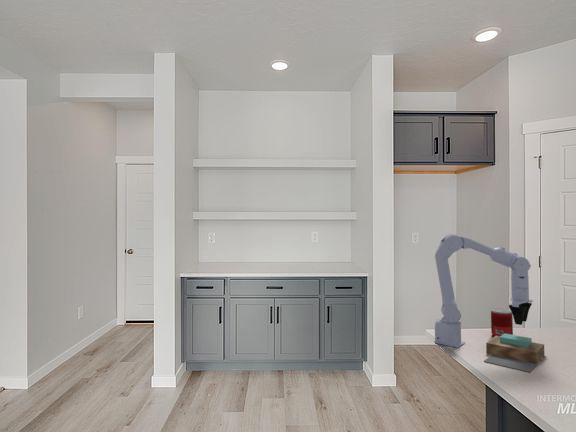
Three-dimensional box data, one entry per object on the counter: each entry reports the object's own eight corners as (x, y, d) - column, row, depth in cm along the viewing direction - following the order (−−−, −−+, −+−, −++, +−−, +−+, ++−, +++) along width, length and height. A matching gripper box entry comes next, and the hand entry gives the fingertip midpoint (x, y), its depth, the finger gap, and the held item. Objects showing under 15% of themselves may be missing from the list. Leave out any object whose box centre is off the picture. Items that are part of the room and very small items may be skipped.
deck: (486, 353, 140) (486, 342, 140) (496, 345, 149) (496, 335, 149) (536, 364, 129) (536, 352, 129) (544, 355, 137) (544, 344, 137)
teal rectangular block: (499, 342, 141) (499, 336, 141) (504, 338, 145) (504, 333, 145) (527, 347, 134) (527, 342, 134) (531, 343, 139) (531, 338, 139)
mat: (483, 361, 132) (483, 361, 132) (491, 355, 138) (491, 354, 138) (530, 372, 122) (530, 371, 122) (536, 364, 129) (536, 364, 129)
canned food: (516, 338, 157) (516, 312, 157) (497, 339, 157) (496, 312, 157) (506, 333, 164) (505, 308, 165) (488, 333, 165) (487, 308, 165)
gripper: (527, 291, 138) (528, 328, 137) (536, 286, 148) (537, 320, 148) (505, 289, 143) (506, 325, 142) (516, 284, 153) (516, 317, 153)
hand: (520, 322), depth 145 cm, fingers open, 6 cm apart
